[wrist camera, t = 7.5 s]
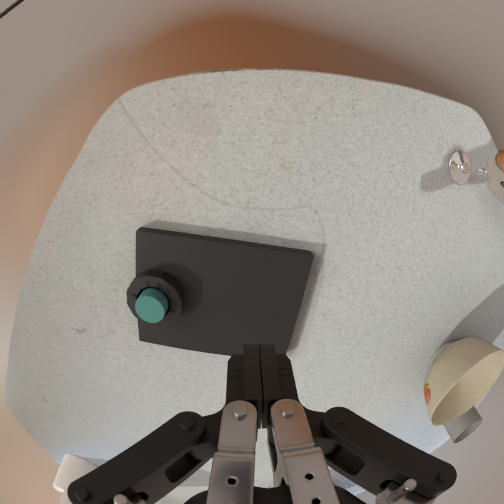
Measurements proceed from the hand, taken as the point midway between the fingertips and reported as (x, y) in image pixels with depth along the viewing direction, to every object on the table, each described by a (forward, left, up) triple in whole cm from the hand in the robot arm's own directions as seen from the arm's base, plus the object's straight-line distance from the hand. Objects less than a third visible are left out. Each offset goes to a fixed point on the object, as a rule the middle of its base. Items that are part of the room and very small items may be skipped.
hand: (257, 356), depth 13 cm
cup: (+53, -31, -16) cm, 64 cm away
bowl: (+36, -14, -16) cm, 42 cm away
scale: (-3, -6, -16) cm, 18 cm away
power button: (-9, -6, -14) cm, 17 cm away
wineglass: (+24, +15, -16) cm, 33 cm away
